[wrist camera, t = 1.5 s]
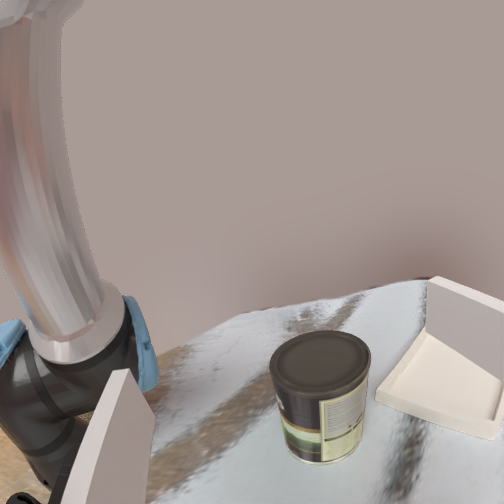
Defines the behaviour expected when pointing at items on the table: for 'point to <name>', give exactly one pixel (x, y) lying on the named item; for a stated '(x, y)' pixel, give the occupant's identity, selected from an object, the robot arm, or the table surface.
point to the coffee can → (321, 394)
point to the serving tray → (444, 389)
